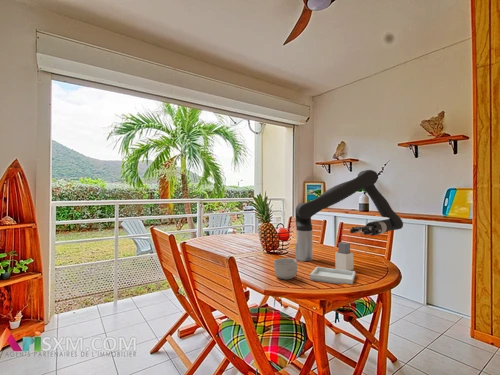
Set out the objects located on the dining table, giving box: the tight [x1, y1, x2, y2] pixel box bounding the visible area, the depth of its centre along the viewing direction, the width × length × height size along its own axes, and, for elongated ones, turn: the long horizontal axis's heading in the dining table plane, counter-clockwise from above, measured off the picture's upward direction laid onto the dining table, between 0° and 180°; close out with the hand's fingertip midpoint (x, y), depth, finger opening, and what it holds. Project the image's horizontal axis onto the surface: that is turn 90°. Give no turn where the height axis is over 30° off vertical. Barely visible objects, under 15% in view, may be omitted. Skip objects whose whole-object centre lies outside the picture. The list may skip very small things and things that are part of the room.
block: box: [337, 241, 351, 254], centre depth 138 cm, size 4×4×13 cm
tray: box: [309, 266, 356, 286], centre depth 125 cm, size 18×14×2 cm
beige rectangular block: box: [334, 251, 354, 271], centre depth 138 cm, size 6×6×9 cm
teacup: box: [273, 257, 298, 280], centre depth 128 cm, size 14×11×8 cm
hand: (357, 232), depth 144 cm, fingers open, 8 cm apart
